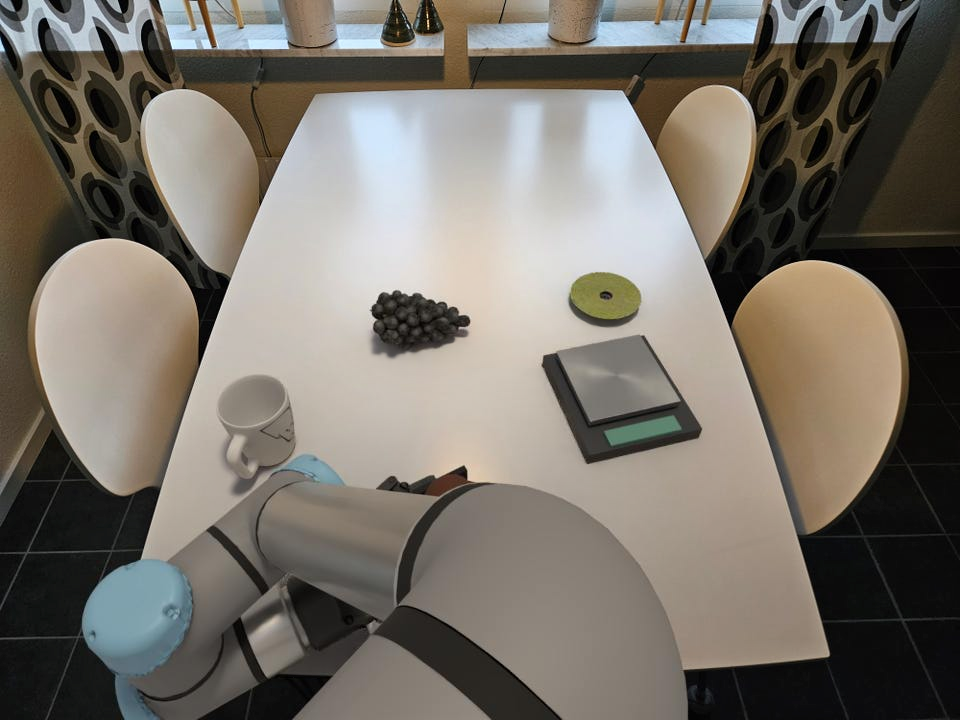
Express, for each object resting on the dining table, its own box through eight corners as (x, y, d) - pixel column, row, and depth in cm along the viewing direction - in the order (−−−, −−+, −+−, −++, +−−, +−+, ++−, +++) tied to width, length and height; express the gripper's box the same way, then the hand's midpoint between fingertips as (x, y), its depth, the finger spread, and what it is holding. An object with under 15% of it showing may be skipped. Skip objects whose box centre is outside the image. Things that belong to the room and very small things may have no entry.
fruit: (470, 278, 94) (366, 280, 93) (473, 329, 91) (365, 332, 90) (468, 307, 102) (373, 309, 101) (471, 355, 99) (372, 357, 98)
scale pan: (679, 405, 87) (681, 401, 86) (589, 425, 85) (590, 421, 84) (638, 338, 95) (639, 334, 95) (555, 355, 93) (556, 350, 92)
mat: (573, 328, 100) (574, 319, 99) (565, 280, 108) (566, 271, 107) (645, 327, 101) (647, 318, 99) (632, 280, 108) (634, 271, 107)
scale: (699, 437, 86) (704, 426, 84) (587, 464, 84) (589, 452, 82) (641, 344, 98) (645, 331, 96) (542, 364, 95) (543, 352, 93)
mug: (278, 500, 80) (258, 454, 72) (215, 488, 81) (189, 442, 74) (313, 427, 87) (298, 378, 80) (255, 417, 88) (234, 368, 81)
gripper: (268, 538, 72) (442, 455, 79) (350, 746, 58) (551, 622, 66) (251, 503, 66) (440, 418, 74) (337, 724, 53) (558, 592, 60)
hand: (492, 514), depth 70 cm, fingers closed on ice cream bowl, 11 cm apart
